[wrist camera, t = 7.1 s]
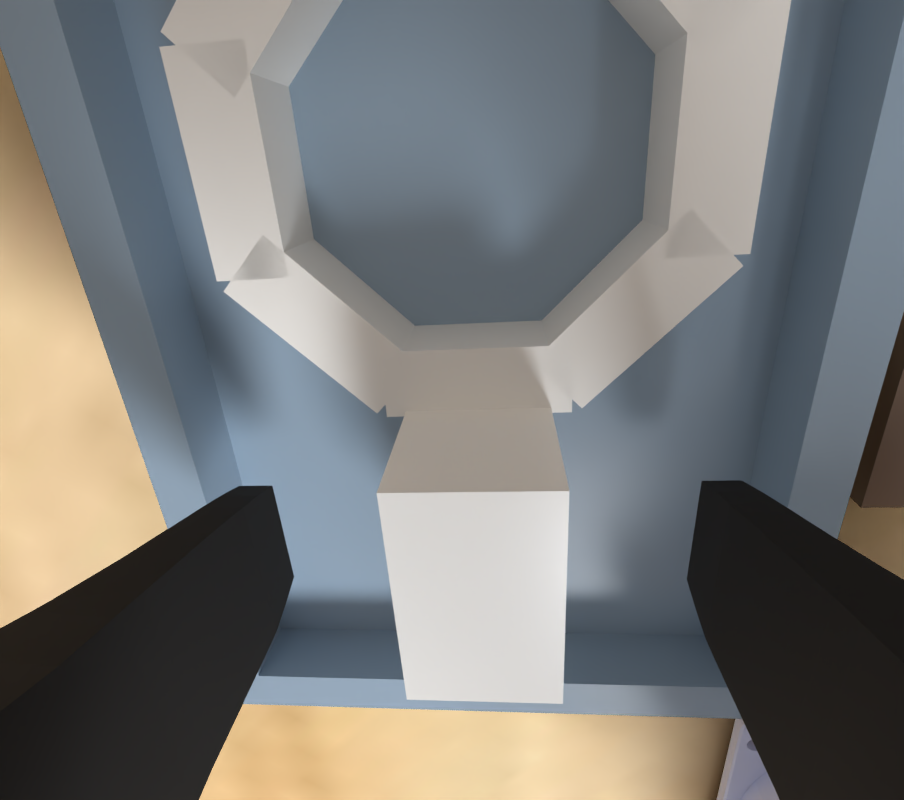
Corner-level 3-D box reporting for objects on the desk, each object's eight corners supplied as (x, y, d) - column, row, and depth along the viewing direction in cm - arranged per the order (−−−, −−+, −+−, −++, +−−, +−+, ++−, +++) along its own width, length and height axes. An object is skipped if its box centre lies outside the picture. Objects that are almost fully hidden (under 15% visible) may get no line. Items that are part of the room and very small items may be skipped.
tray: (746, 645, 14) (784, 720, 12) (261, 637, 15) (228, 703, 13) (1062, -752, 5) (1345, -1206, 4) (-70, -511, 7) (-281, -759, 5)
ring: (672, 538, 12) (752, 708, 8) (313, 539, 13) (239, 695, 9) (772, -221, 7) (1092, -659, 3) (168, -140, 8) (-133, -417, 4)
